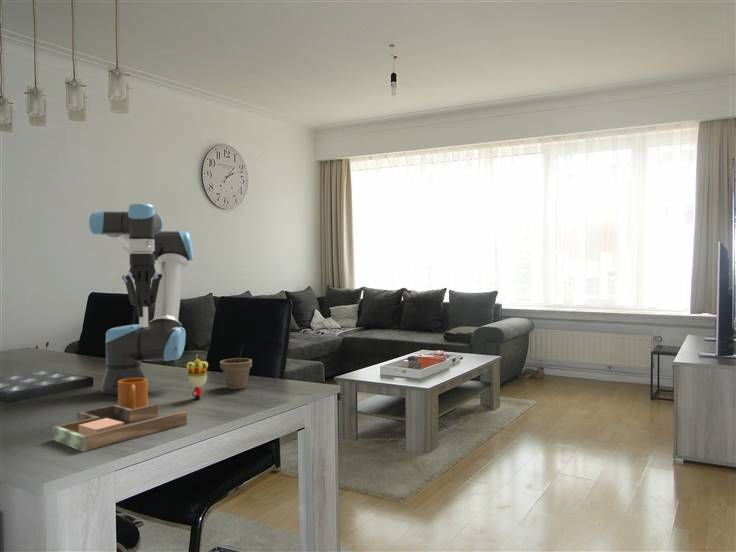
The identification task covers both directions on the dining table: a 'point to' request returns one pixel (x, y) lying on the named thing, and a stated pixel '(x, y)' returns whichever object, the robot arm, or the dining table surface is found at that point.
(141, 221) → the robot arm
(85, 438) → the wooden tray frame
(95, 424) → the block
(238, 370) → the flower pot
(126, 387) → the mug
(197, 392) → the toy
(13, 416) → the dining table surface
